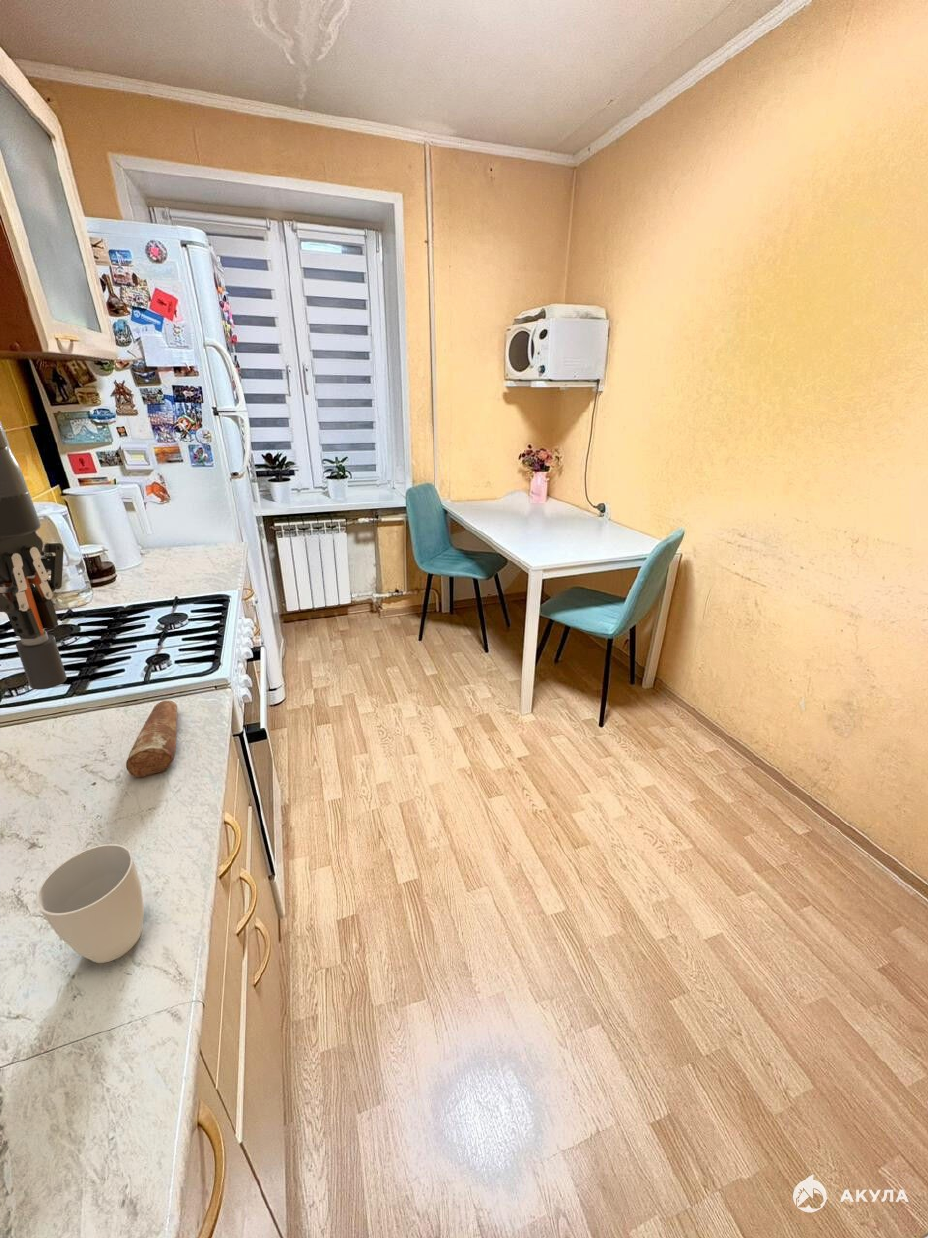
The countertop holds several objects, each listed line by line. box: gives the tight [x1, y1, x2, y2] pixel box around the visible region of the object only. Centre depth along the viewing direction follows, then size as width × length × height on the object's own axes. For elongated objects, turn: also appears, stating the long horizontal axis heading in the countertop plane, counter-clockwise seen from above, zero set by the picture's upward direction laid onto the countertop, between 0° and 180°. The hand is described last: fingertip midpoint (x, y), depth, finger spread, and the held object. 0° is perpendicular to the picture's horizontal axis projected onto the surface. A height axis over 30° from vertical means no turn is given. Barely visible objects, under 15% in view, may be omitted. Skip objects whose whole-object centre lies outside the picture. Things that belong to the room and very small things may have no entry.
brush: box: [4, 577, 68, 691], centre depth 61 cm, size 4×4×18 cm
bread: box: [125, 700, 178, 778], centre depth 84 cm, size 6×19×6 cm, turn 20°
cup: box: [35, 843, 145, 964], centre depth 53 cm, size 8×8×10 cm
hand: (39, 632), depth 62 cm, fingers closed on brush, 2 cm apart
